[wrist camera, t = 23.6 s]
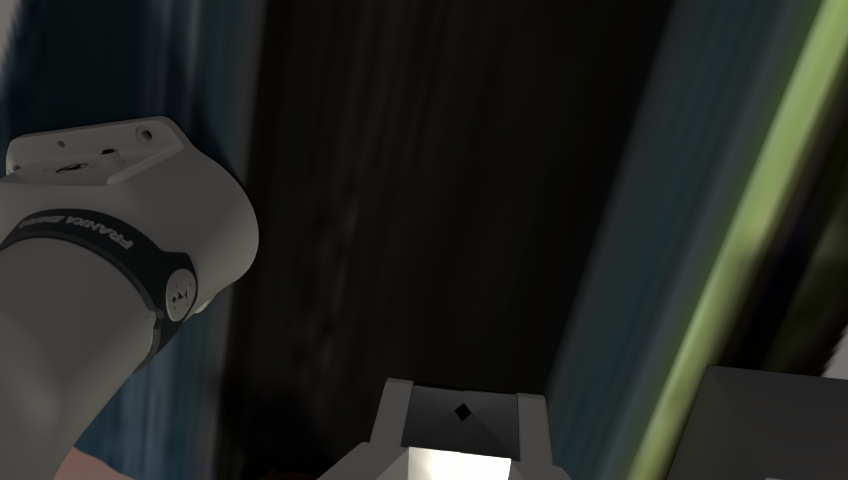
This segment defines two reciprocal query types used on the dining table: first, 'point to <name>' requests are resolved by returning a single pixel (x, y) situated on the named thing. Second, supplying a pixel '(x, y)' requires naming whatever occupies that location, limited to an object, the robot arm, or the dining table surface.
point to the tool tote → (765, 428)
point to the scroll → (286, 476)
